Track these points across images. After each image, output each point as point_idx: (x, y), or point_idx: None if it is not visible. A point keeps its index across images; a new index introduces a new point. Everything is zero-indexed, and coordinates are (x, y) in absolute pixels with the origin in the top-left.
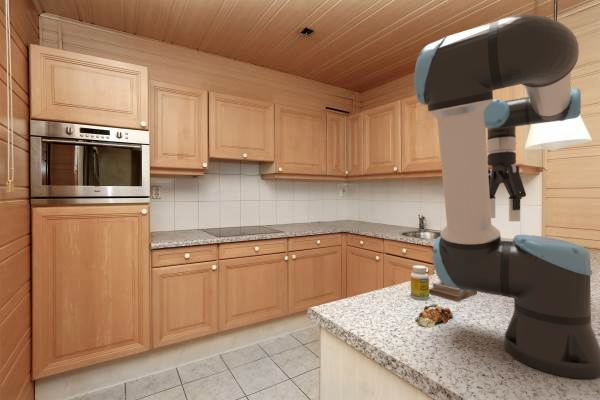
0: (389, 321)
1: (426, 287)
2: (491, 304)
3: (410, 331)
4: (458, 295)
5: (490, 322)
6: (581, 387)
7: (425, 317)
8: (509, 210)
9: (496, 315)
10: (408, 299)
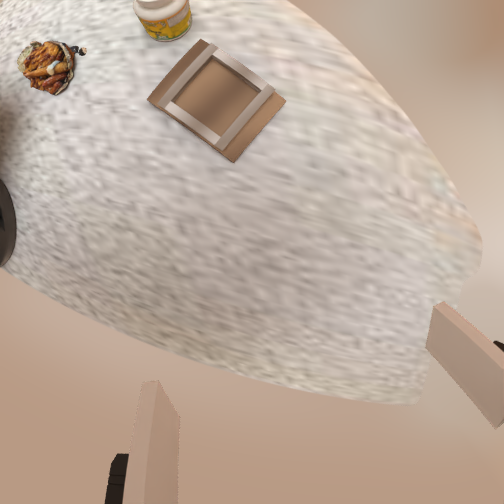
0: (35, 11)
1: (144, 26)
2: (150, 179)
3: (6, 47)
4: (157, 104)
5: (49, 160)
6: None
7: (29, 54)
8: (143, 441)
9: (84, 176)
10: None
